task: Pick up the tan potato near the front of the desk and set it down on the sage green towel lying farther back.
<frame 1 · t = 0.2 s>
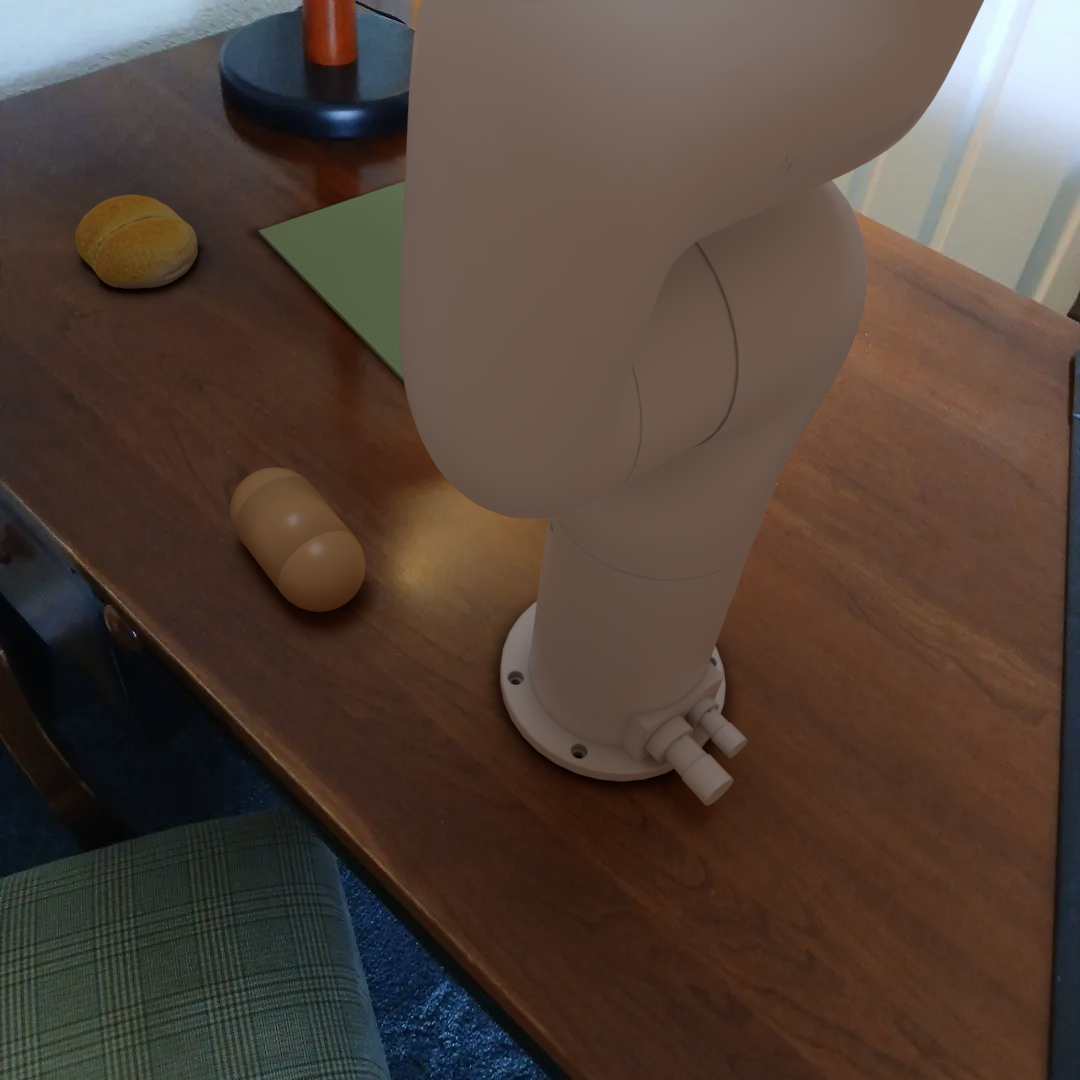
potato: (301, 565, 63), on the table
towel: (431, 269, 82), on the table
bread roll: (140, 259, 80), on the table
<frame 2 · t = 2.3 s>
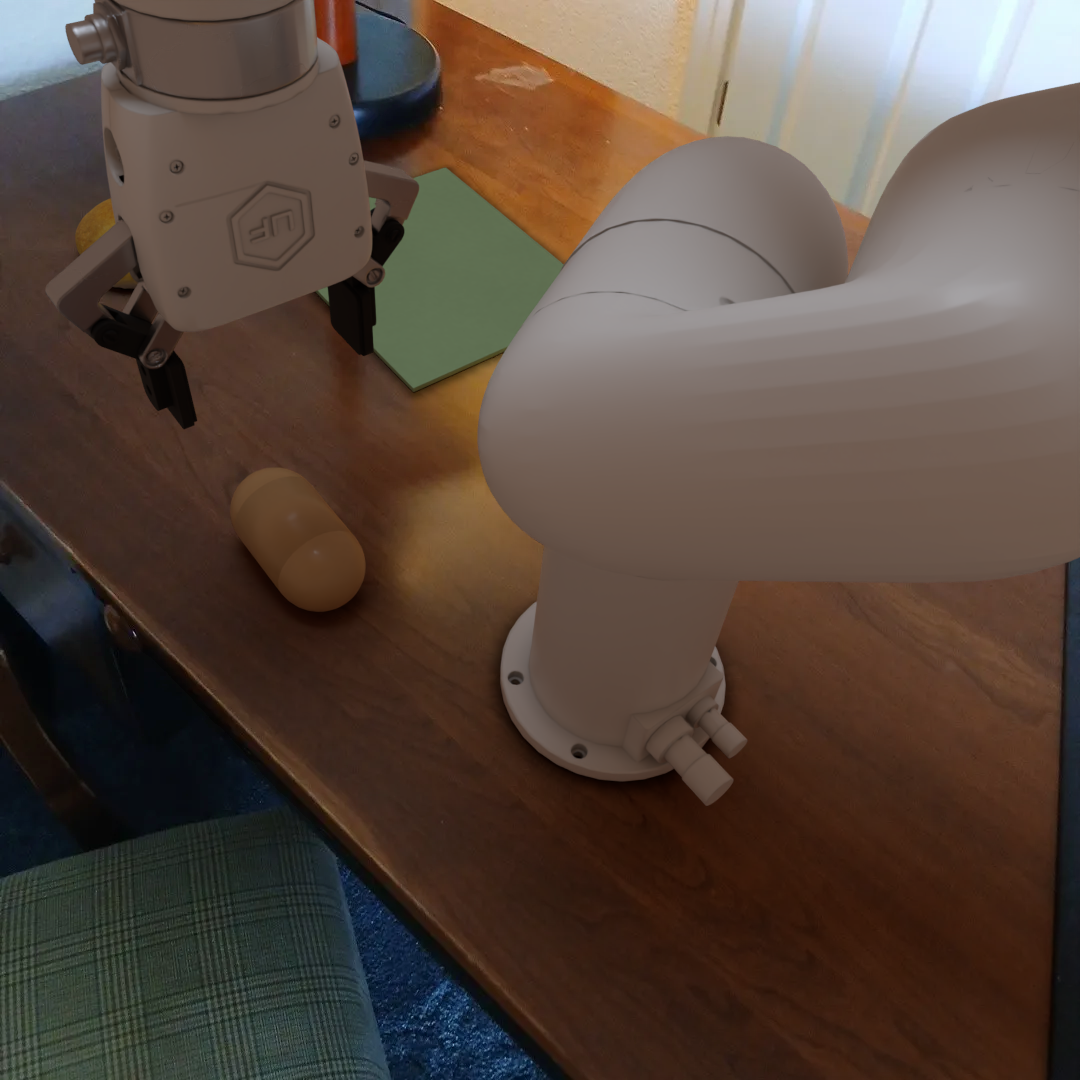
hand: (268, 373, 52), 14 cm above the table, tool pointing down, fingers open, 9 cm apart
nothing on the table moved.
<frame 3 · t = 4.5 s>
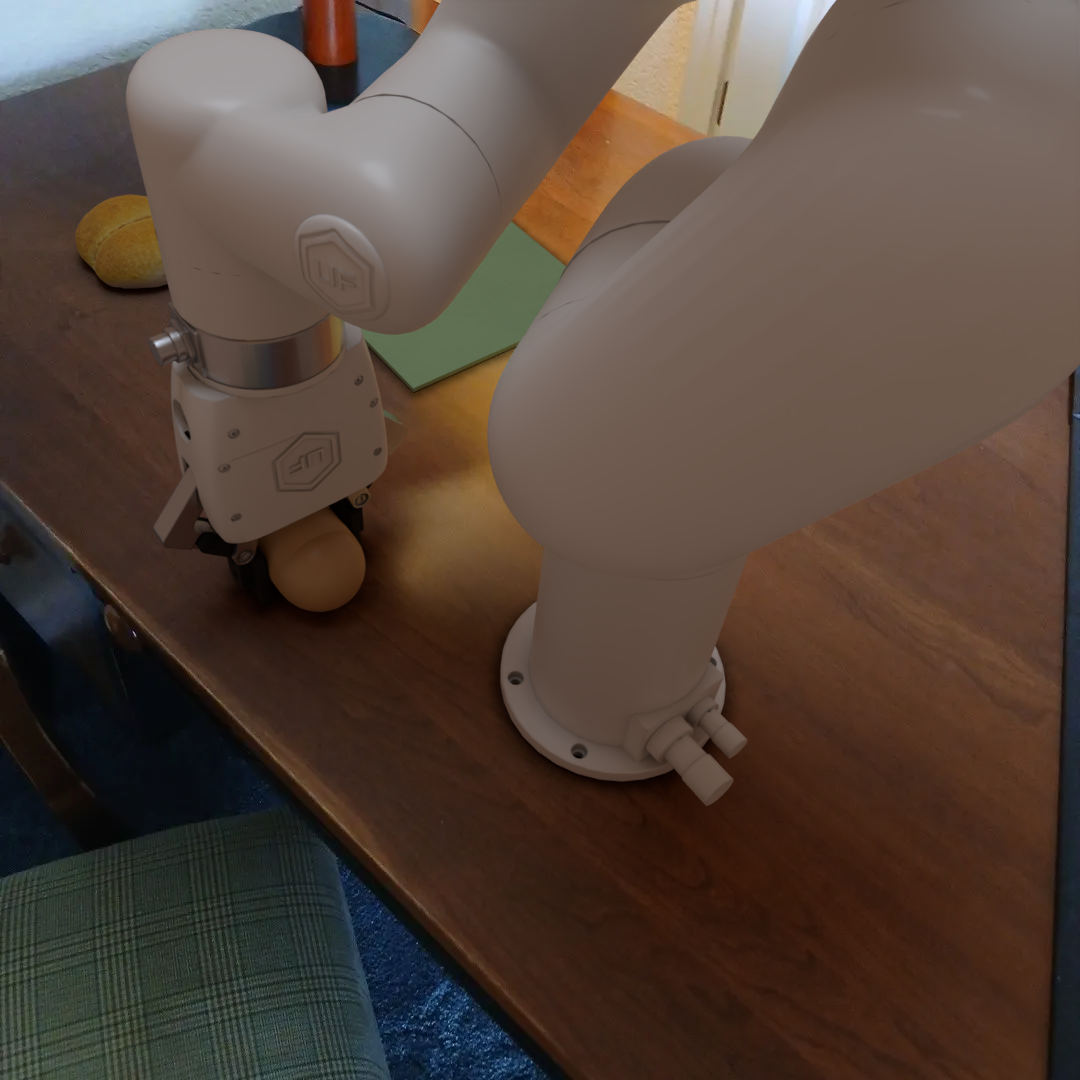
hand: (300, 560, 62), 0 cm above the table, tool pointing down, fingers closed on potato, 5 cm apart
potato: (301, 565, 63), on the table, touching gripper
everything else where it was.
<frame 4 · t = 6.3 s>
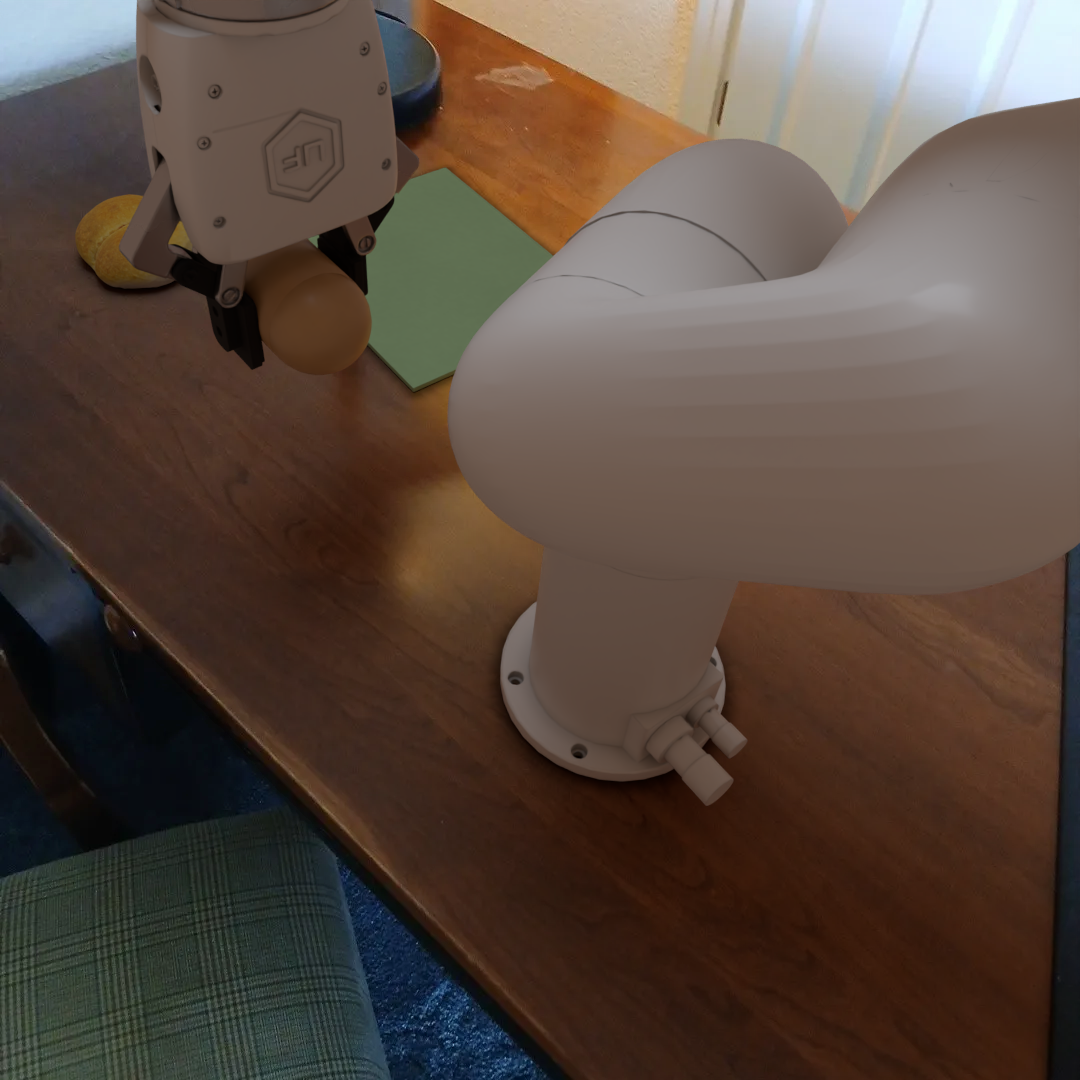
hand: (294, 328, 53), 15 cm above the table, tool pointing down, fingers closed on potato, 5 cm apart
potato: (295, 335, 54), point 15 cm above the table, touching gripper
everything else where it was.
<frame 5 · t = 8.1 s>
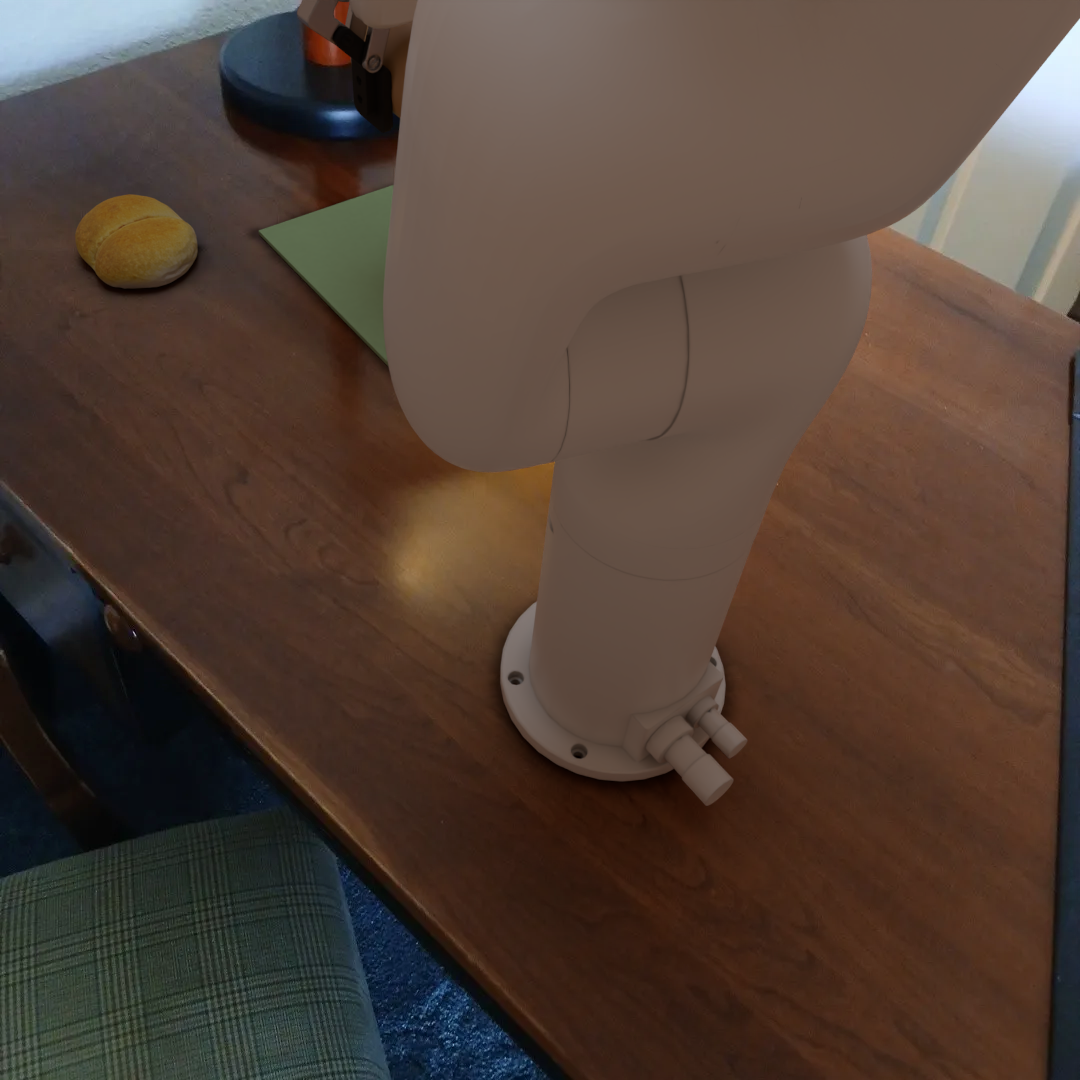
hand: (414, 107, 68), 15 cm above the table, tool pointing down, fingers closed on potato, 5 cm apart
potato: (413, 113, 68), point 15 cm above the table, touching gripper
everything else where it was.
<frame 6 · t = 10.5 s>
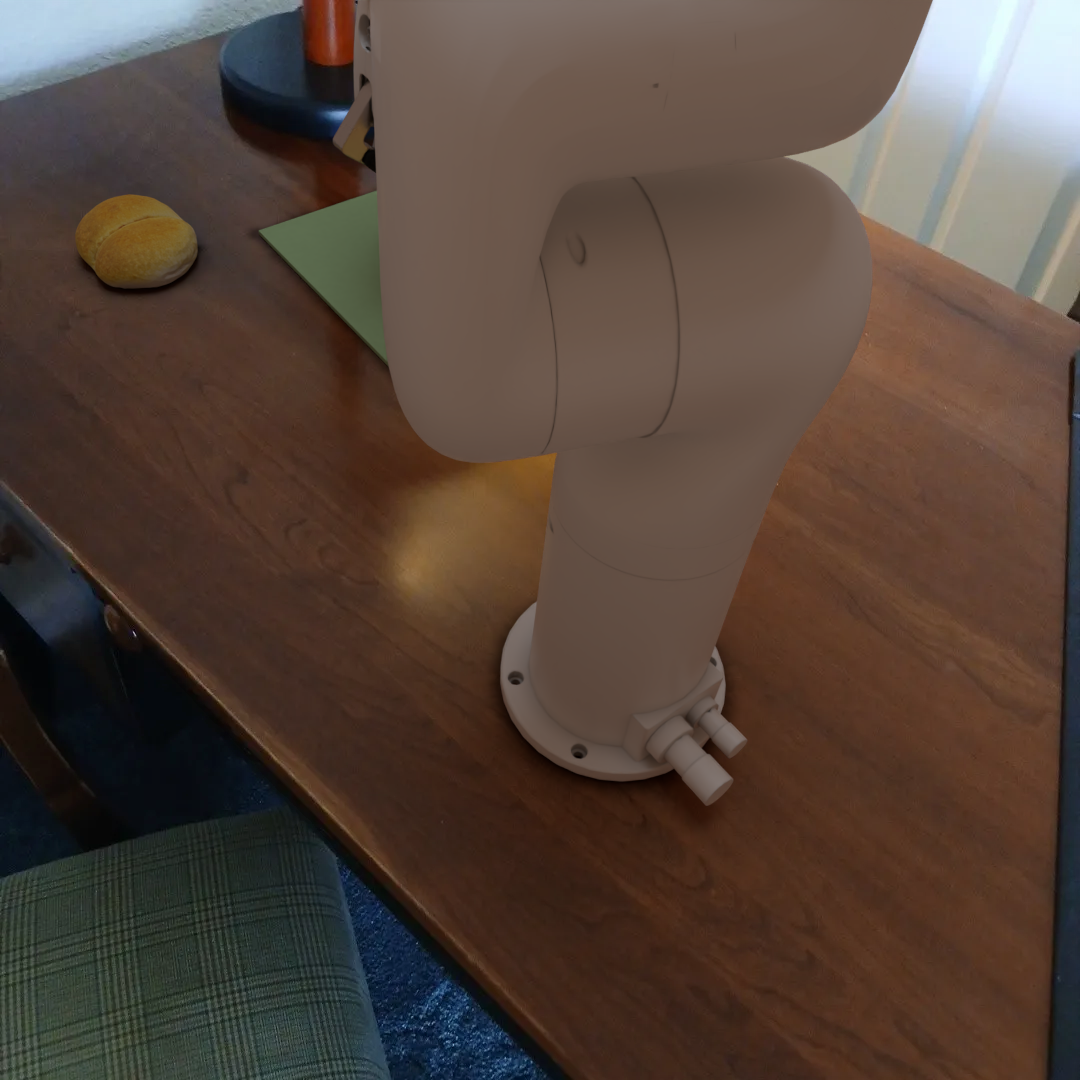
hand: (430, 208, 78), 5 cm above the table, tool pointing down, fingers closed on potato, 5 cm apart
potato: (429, 212, 78), point 5 cm above the table, touching gripper
everything else where it was.
when the fingers open (1 cm above the table, at t = 12.1 s): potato stays where it is, resting on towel.
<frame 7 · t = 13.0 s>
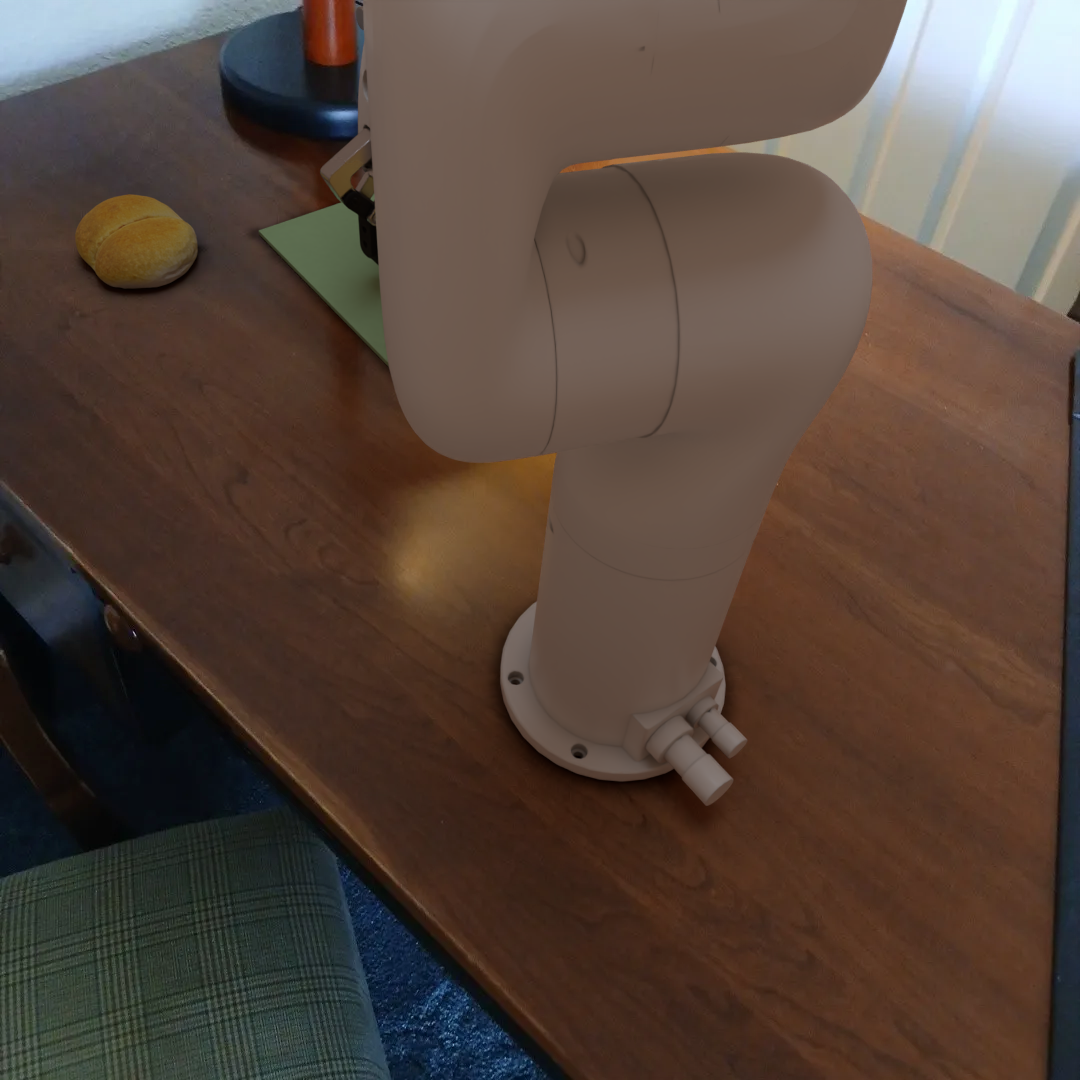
hand: (432, 240, 80), 3 cm above the table, tool pointing down, fingers open, 9 cm apart
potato: (430, 263, 82), resting on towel, tilted 13°
everything else where it was.
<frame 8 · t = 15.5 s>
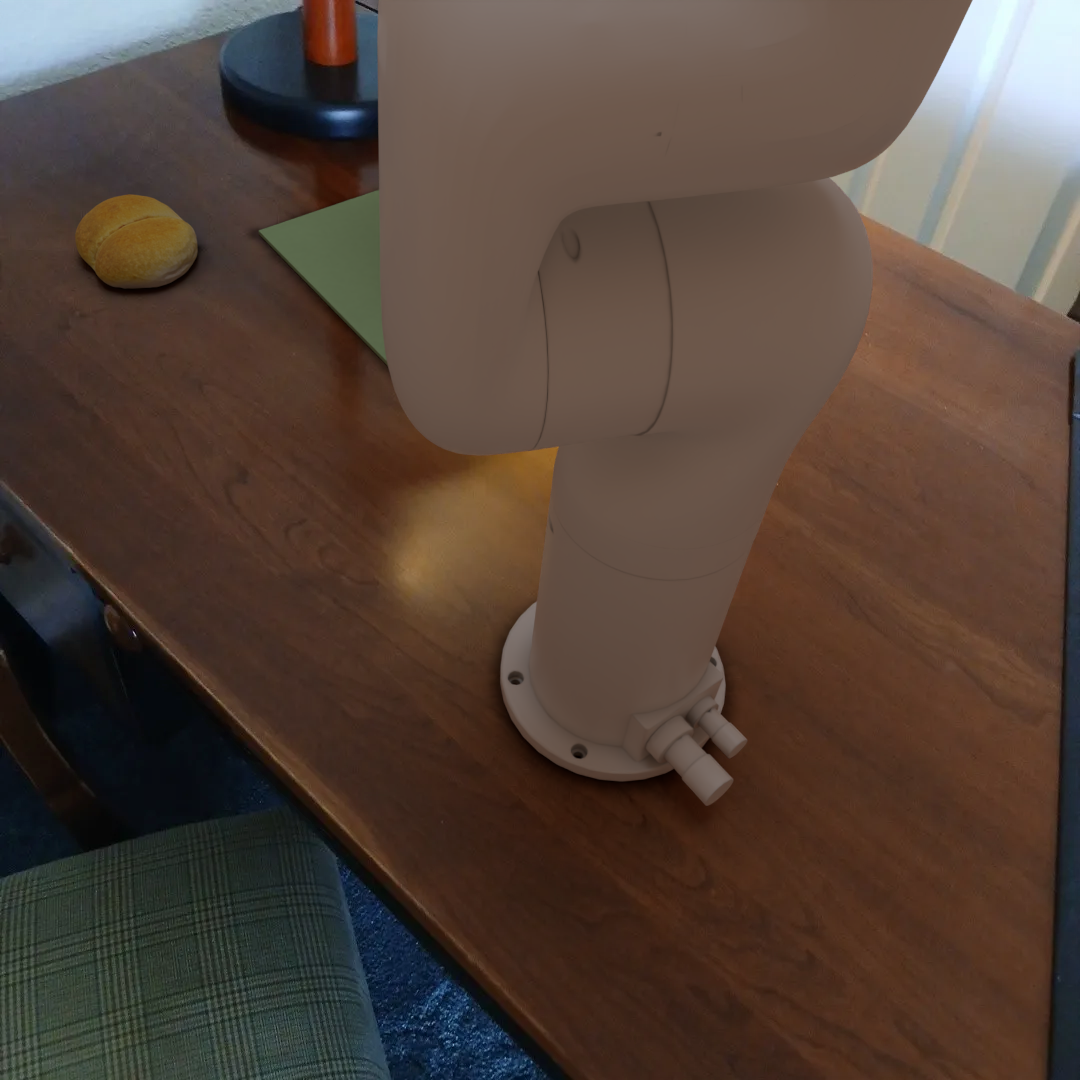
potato: (433, 253, 81), point 1 cm above the table, tilted 50°, touching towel
everything else where it was.
at the end: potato inside the target area on the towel (0.3 cm from its centre), point 1.4 cm above the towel's base; the gripper is holding nothing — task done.
